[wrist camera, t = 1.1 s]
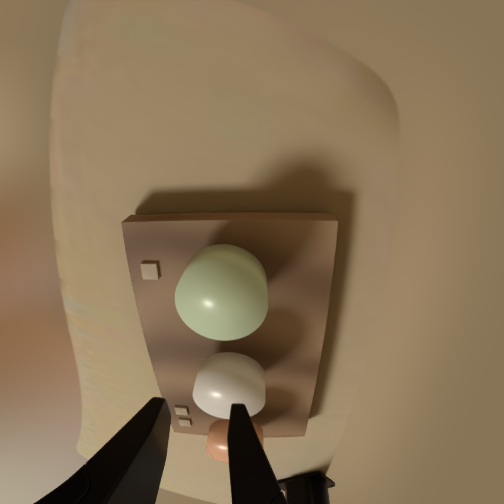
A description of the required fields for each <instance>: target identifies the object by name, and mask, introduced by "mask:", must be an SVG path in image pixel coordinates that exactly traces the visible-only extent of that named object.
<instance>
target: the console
mask: <svg viewBox="0 0 504 504" xmlns="http://www.w3.org/2000/svg"><path fill="white" fill-rule="evenodd" d="M121 223H122V230H123V237H124V243H125V249H126V255H127V260H128V266H129V271H130V276H131V281H132V286H133V291H134V295H135V300H136V305H137V309H138V313H139V317H140V322H141V326H142V330H143V334H144V337H145V341H146V345H147V349H148V352H149V356H150V359H151V363H152V366H153V370H154V373H155V376H156V380H157V383H158V386H159V389H160V392H161V396H162V398H165V399H166V400H167V403H168V406H169V409H170V412H171V425H172V427H173V430H174V432H179V433H188V434H198V435H208V432H209V427H210V425H211V424H212V423H213V422H215V421H217V420H220V419H223V418H218V417H215V416H212V415H210V414H208V413H206V412H204V411H203V410H202V409H200V408H199V407H198V406H197V404H196V403H195V401H194V399H193V389H194V385H195V380H196V376H197V372H198V368H199V365H200V364H201V362H202V361H203V360H204V359H206V358H207V357H209V356H211V355H214V354H217V353H223V352H233V353H239V354H243V355H246V356H248V357H250V358H252V359H254V360H255V361H257V362H258V363H259V364H260V365H261V366H262V368H263V370H264V372H265V404H264V407H263V408H262V409H261V410H260V411H259V412H258V413H256V414H255V415H253V416H250V418H251V420H252V421H253V422H255V423H257V424H258V425H259V426H260V427H261V428H262V429H263V437H298V436H305V432H306V428H307V423H308V419H309V414H310V410H311V405H312V400H313V395H314V390H315V385H316V380H317V375H318V370H319V364H320V358H321V353H322V347H323V341H324V335H325V328H326V322H327V315H328V308H329V301H330V293H331V285H332V277H333V269H334V260H335V250H336V240H337V229H338V220H337V219H336V217H335V216H334V215H333V214H332V213H299V212H217V213H168V214H139V215H130V216H129V217H128V218H126V219H125V220H124V221H123V222H121ZM219 244H227V245H234V246H237V247H240V248H243V249H245V250H247V251H248V252H250V253H251V254H252V255H254V256H255V257H256V258H257V259H258V260H259V262H260V263H261V264H262V266H263V268H264V270H265V273H266V276H267V288H268V310H267V314H266V317H265V319H264V321H263V322H262V324H261V325H260V326H259V327H258V328H257V329H256V330H255V331H254V332H252V333H251V334H249V335H247V336H245V337H242V338H240V339H235V340H226V341H223V340H214V339H210V338H207V337H204V336H202V335H200V334H198V333H196V332H195V331H193V330H192V329H191V328H189V327H188V326H187V325H186V324H185V323H184V321H183V320H182V319H181V317H180V315H179V314H178V311H177V309H176V305H175V291H176V287H177V285H178V282H179V280H180V278H181V276H182V274H183V272H184V270H185V268H186V266H187V264H188V262H189V261H190V259H191V258H192V257H193V256H194V255H195V254H196V253H197V252H199V251H200V250H202V249H204V248H206V247H209V246H212V245H219Z"/></svg>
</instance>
